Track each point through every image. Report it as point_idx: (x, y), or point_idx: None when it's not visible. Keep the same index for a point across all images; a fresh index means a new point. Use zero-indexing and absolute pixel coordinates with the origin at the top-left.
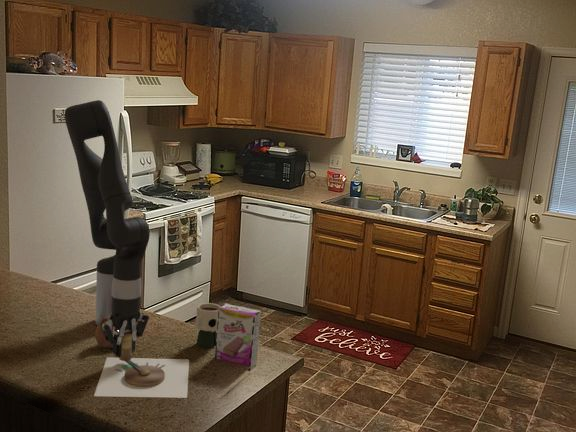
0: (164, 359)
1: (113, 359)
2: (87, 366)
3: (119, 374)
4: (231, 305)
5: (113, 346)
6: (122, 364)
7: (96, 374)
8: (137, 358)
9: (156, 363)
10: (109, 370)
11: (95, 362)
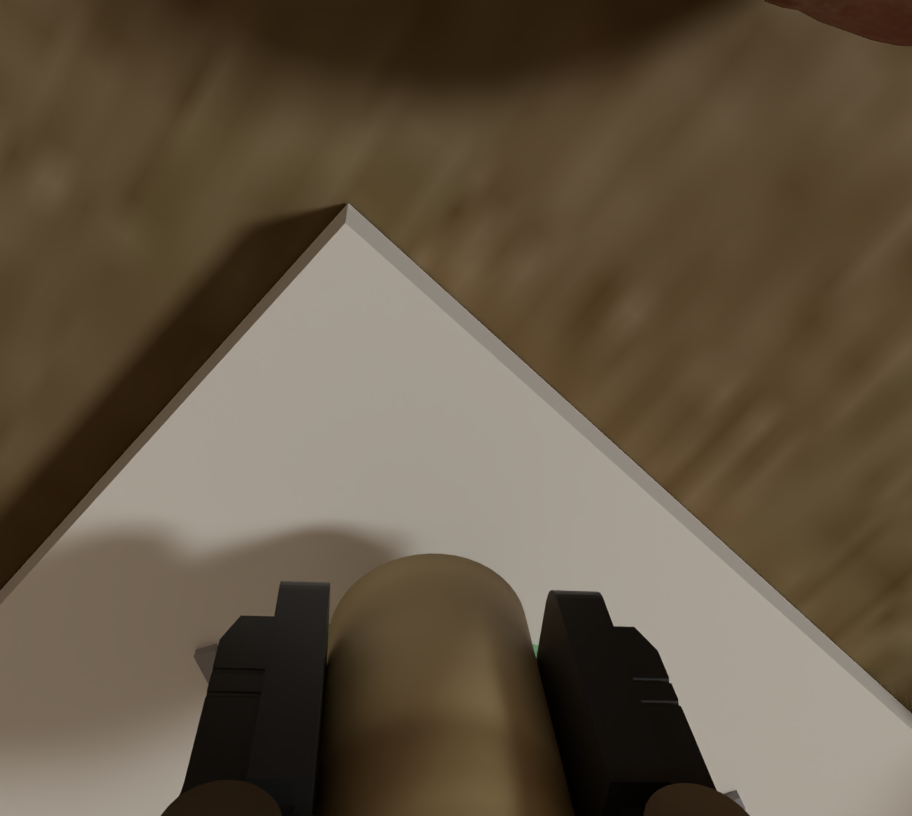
0: (892, 736)
1: (381, 360)
2: (2, 116)
3: (174, 767)
4: None
5: (196, 757)
6: None
7: (8, 440)
8: (679, 538)
9: (735, 767)
10: (121, 617)
11: (197, 65)
